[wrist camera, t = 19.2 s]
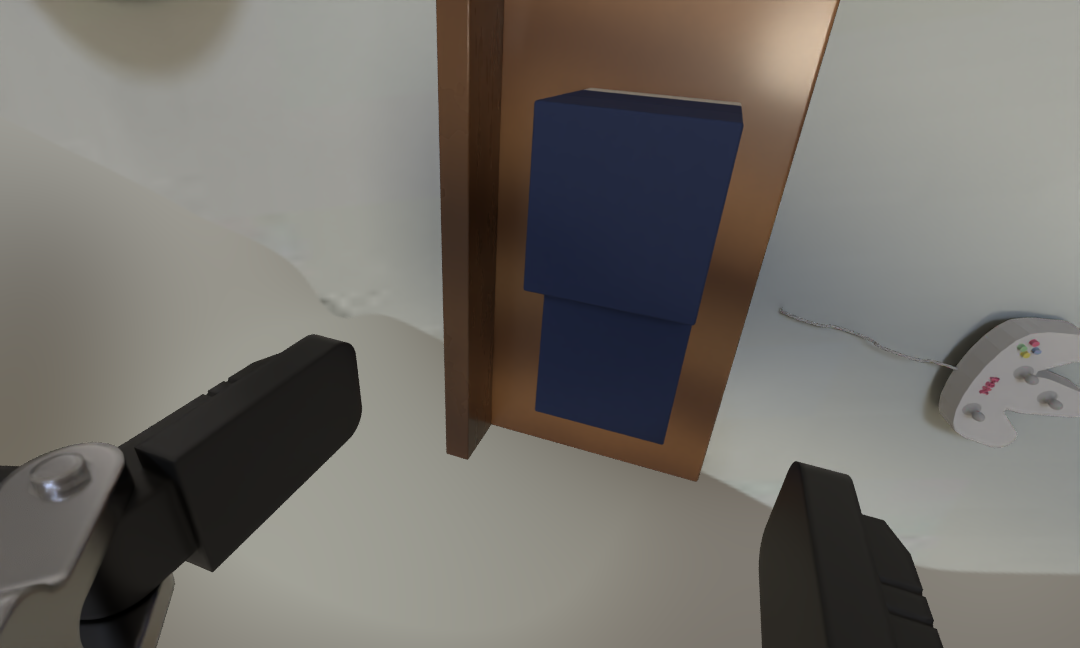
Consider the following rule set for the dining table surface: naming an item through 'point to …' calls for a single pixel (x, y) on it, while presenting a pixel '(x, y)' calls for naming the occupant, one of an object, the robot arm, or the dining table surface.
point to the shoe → (622, 247)
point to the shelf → (504, 177)
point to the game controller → (1007, 378)
